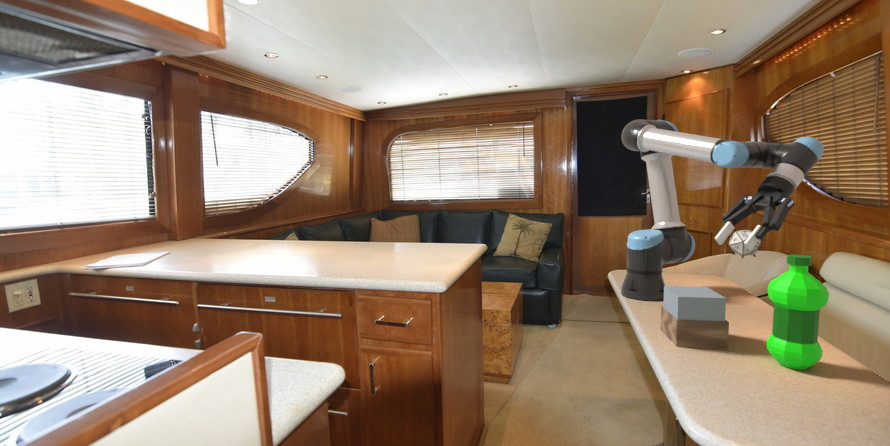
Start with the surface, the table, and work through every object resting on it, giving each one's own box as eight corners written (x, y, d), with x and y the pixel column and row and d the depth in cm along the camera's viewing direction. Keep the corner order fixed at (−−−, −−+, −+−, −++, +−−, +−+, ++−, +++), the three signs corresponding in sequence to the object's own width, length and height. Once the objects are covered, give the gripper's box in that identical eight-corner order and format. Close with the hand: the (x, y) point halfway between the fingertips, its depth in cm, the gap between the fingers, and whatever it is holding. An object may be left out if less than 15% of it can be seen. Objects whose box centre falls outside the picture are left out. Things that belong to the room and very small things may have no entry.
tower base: (660, 330, 121) (661, 306, 121) (706, 332, 120) (707, 307, 119) (676, 347, 110) (677, 320, 109) (727, 349, 108) (729, 322, 107)
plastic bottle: (829, 366, 97) (837, 256, 94) (810, 379, 91) (818, 262, 88) (776, 351, 105) (782, 250, 102) (756, 362, 99) (762, 255, 97)
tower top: (663, 307, 120) (664, 286, 119) (706, 308, 118) (707, 287, 118) (677, 319, 109) (678, 296, 109) (724, 321, 107) (726, 298, 107)
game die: (751, 271, 118) (777, 245, 111) (720, 259, 119) (744, 234, 112) (744, 250, 124) (768, 225, 118) (715, 239, 125) (737, 214, 119)
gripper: (828, 194, 112) (777, 260, 109) (750, 191, 132) (706, 246, 129) (815, 174, 110) (763, 240, 107) (738, 174, 130) (693, 230, 127)
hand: (732, 243), depth 118 cm, fingers closed on game die, 8 cm apart
